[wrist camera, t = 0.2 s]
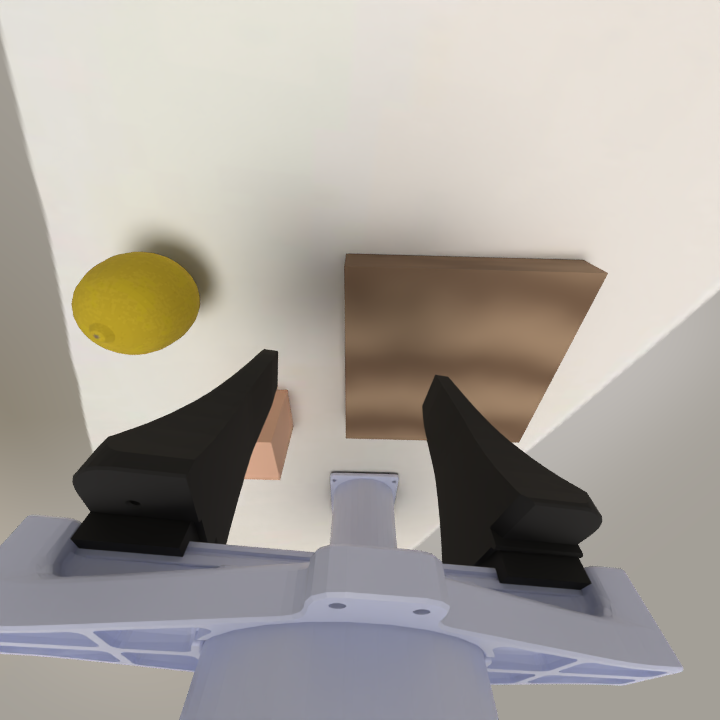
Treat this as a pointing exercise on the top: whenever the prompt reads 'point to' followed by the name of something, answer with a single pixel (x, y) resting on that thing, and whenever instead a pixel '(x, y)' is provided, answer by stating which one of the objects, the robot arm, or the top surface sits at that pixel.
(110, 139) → the top surface
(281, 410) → the cube
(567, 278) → the walnut block
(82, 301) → the lemon
